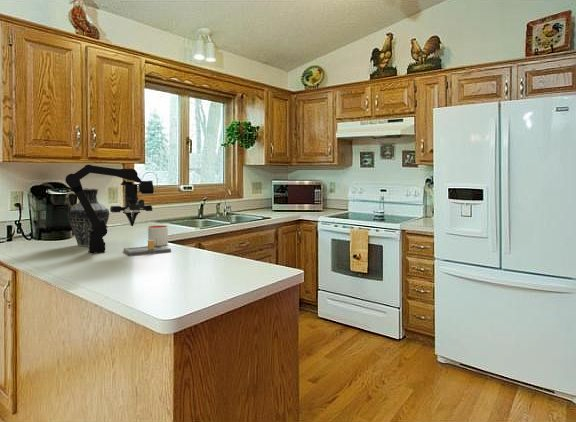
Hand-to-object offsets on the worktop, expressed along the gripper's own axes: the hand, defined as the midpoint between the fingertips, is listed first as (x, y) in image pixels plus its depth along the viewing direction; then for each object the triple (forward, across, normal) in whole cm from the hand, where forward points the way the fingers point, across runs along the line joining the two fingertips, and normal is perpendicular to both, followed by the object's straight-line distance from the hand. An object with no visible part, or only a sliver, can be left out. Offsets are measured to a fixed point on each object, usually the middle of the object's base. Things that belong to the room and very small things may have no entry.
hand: (132, 226), depth 196 cm
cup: (+12, +15, +8) cm, 21 cm away
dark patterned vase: (+12, -16, +26) cm, 33 cm away
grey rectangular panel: (+12, +5, -8) cm, 15 cm away
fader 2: (+10, +12, -4) cm, 16 cm away
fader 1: (+10, +6, -12) cm, 17 cm away
